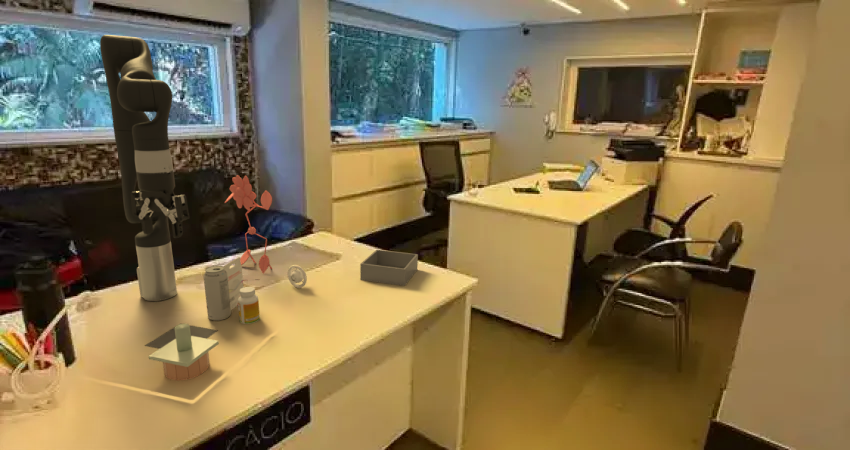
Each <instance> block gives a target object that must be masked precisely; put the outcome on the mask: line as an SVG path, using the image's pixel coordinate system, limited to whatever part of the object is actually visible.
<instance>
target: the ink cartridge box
mask: <svg viewBox="0 0 850 450" xmlns="http://www.w3.org/2000/svg"><path fill="white" fill-rule="evenodd" d="M240 259H241V256H238V257H236V258H235V259H234V260H233V259H232V260H231V261H230V262H228V263H226V264H224V265H223V267H224V269H225V271H226V272H227V276H228V287H229V297H230V308H231V311H232V310H233V309H235V308H236V307H238V298H239V297H240V289H241V288H244V281H243V280H244V278H243V267H242V265H241V262H240Z"/></svg>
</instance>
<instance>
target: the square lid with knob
mask: <svg viewBox="0 0 850 450" xmlns="http://www.w3.org/2000/svg"><path fill="white" fill-rule="evenodd" d="M175 336H176V339H174V340H173V341H171V342H170V343H168V344H167V345H165V346H163V347H162V348H160V349H159V348H158V349H157V350H156V351H154V352H153V353H150V355H148V359H149V360H152V361H156V362H161V363H163V362H166V363H170V364H175V365H180V366H185V367H188V366H190V365H191V364H192V363H194V362H195V361H196V360H198V359H199V358H200V357H202V356H203V355H204V354H206V353H207V352H208V353H209V352H210V351H211V350H213V349H214V348H215V347H216V346H218V345H219V342H220V341H219V340H215V339H209V338H207V339H206V338H200V337H195V336H191V333H190V324H189V323H179V324H177V325H176V326H175Z"/></svg>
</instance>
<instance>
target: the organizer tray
mask: <svg viewBox="0 0 850 450" xmlns="http://www.w3.org/2000/svg"><path fill="white" fill-rule="evenodd" d="M418 259H419V254H417V253H409V252H401V251H393V250H392V251H391V250H385V249H376V250H375V251H373V252H372V253H371V254H370V255H369V256H367V258H365V259H364V260H363V261H362V262H361V263H360V265H359V266H360V268H359V269H360V273H359V275H360V278H359V279H360V281H365V282H373V283H382V284H388V285H395V286H404V287H405V286H406V285H407V283H408V282H409V281H411V279H412V277H413V276H414V275H415V273H417V271H418V261H419V260H418Z"/></svg>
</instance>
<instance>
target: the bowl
mask: <svg viewBox="0 0 850 450" xmlns="http://www.w3.org/2000/svg"><path fill="white" fill-rule="evenodd" d="M162 366H163V373H164V376H165V377H166V378H167V379H168V380H173V381H185V380H191V379H194V378H196V377H198V376H201V375H202V374H203V373H206V371H207V370H208V369H209V367H210V355H209V351H208V352H207V353H206V354H204V355H203V356H202V357H200V358H199V359H198V360H196V361H195V362H194V363H192V364H191V365H190V366H188V367H185V366H180V365H175V364H170V363H166V362H162Z"/></svg>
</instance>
